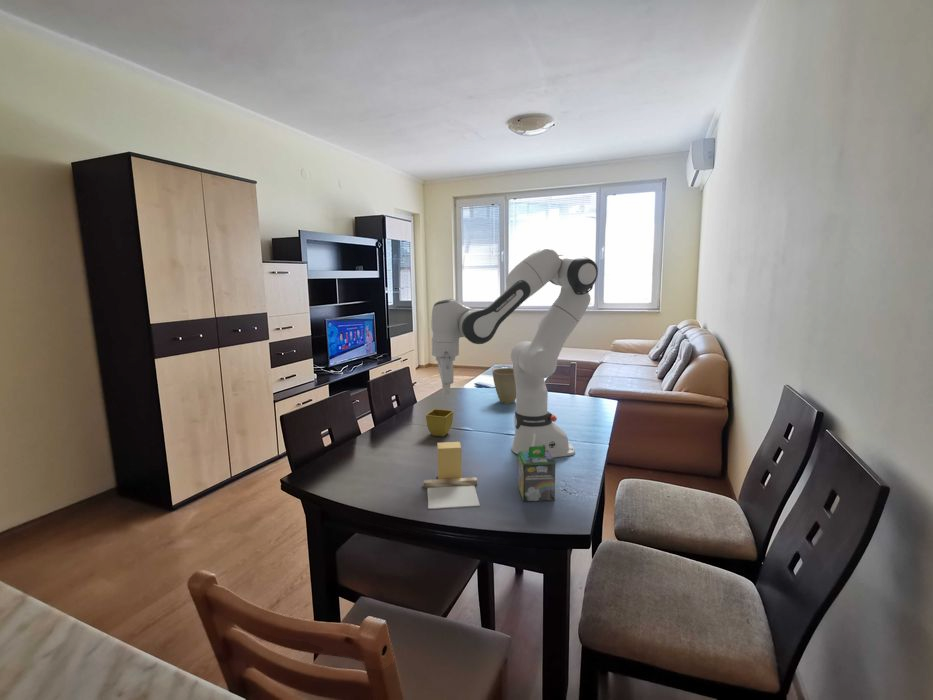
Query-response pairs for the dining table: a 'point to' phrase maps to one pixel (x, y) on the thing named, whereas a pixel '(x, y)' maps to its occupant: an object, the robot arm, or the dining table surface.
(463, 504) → the felt mat
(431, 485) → the beech kerb
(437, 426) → the flower pot
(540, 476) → the chalk box
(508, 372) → the plant pot
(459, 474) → the ochre block
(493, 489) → the dining table surface
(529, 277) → the robot arm
